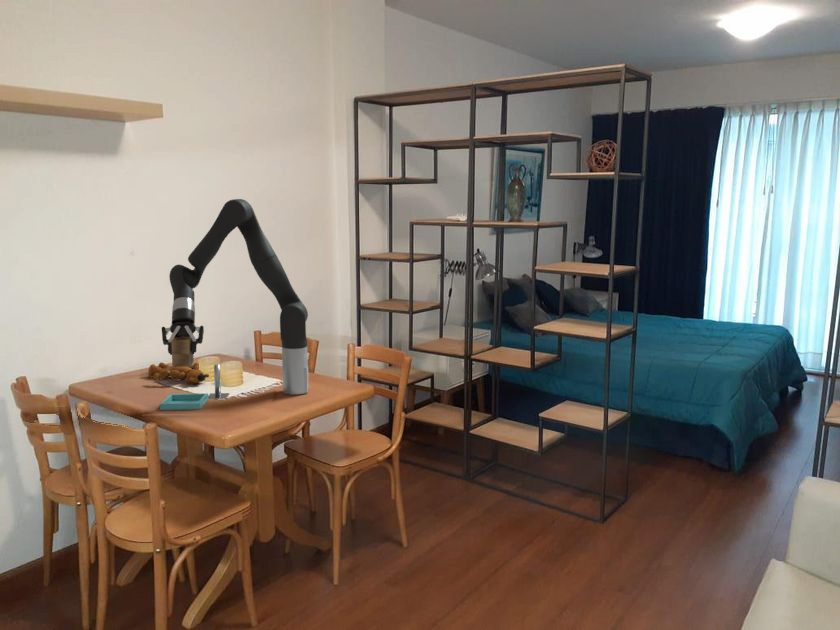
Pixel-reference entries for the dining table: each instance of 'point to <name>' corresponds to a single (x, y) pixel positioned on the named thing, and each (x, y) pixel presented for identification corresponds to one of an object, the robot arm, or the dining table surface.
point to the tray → (184, 402)
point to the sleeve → (182, 352)
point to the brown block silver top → (217, 385)
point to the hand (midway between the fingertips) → (182, 353)
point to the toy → (178, 373)
